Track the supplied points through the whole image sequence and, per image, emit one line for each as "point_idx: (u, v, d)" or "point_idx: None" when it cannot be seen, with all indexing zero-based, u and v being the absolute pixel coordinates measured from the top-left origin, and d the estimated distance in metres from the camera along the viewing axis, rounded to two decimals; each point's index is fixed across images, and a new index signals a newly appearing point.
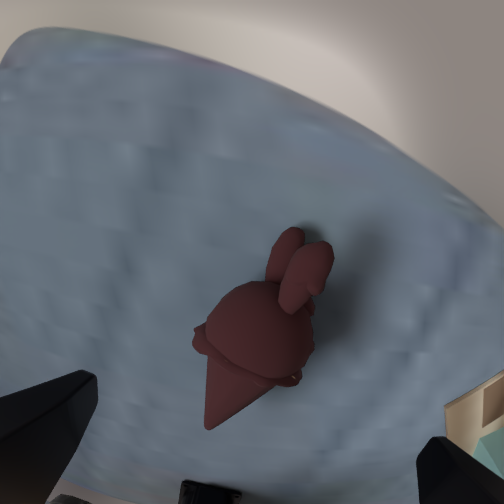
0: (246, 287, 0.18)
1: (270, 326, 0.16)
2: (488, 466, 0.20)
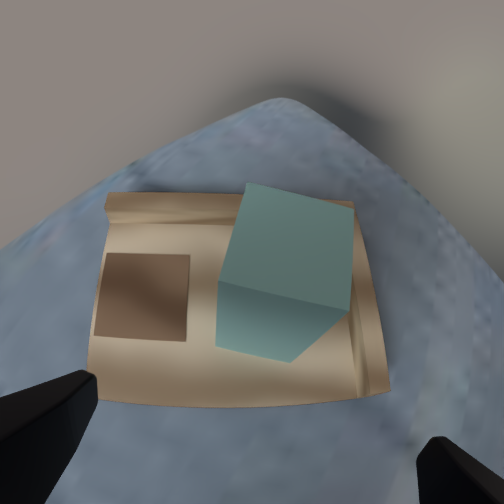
0: None
1: None
2: (241, 336, 0.17)
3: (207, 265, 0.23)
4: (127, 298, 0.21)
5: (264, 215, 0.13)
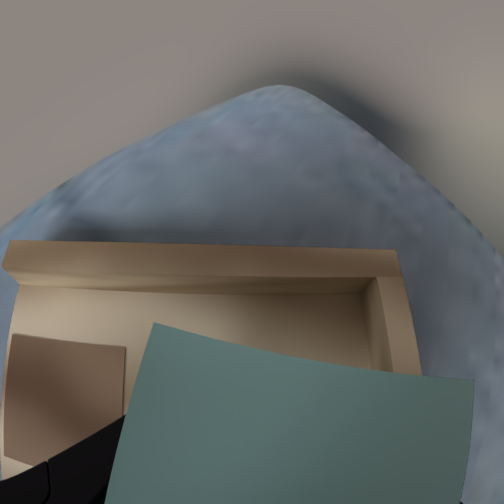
0: None
1: None
2: None
3: None
4: (38, 411, 0.11)
5: (204, 467, 0.03)
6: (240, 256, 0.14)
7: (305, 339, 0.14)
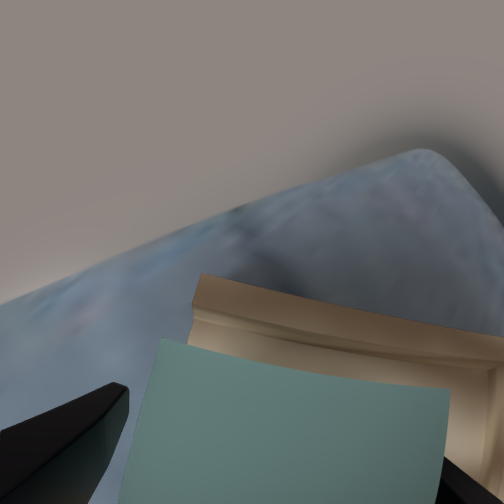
0: None
1: None
2: None
3: None
4: None
5: (206, 462, 0.04)
6: (435, 335, 0.14)
7: (452, 404, 0.14)
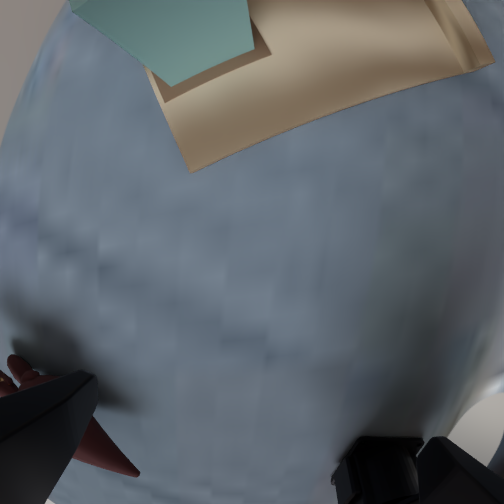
0: None
1: None
2: (175, 52, 0.12)
3: None
4: None
5: None
6: None
7: None
